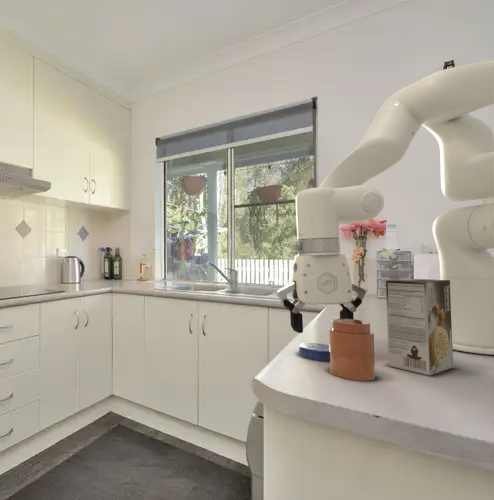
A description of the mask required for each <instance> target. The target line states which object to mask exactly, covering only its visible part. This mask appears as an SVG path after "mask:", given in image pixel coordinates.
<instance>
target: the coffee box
mask: <svg viewBox="0 0 494 500" xmlns="http://www.w3.org/2000/svg"><path fill="white" fill-rule="evenodd" d="M385 290H386V291H385V292H386V293H385V295H386V296H385V297H386V322H387V323H386V325H387V354H388V355H387V356H388V366H389V367H391V368H395V369H401V370H404V371H409V372H413V373H418V374H421V375H425V376H433V375H435V374H439V373H442V372H444V371H447V370H451V369H453V368H454V357H453V355H454V353H453V352H454V350H453V349H452V323H451V299H450V280H440V279H426V278H425V279H424V278H405V279H403V278H402V279H401V278H400V279H387V280H385Z"/></svg>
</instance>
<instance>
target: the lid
mask: <svg viewBox="0 0 494 500" xmlns="http://www.w3.org/2000/svg"><path fill="white" fill-rule="evenodd" d="M298 353H299V355H300V356H301V357H303V358H304V359H305V358H306V359H309V360H313V361H319V362H330V349H329V344H324V343H319V342H303V343H300V344H299V347H298Z"/></svg>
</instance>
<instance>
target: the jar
mask: <svg viewBox="0 0 494 500" xmlns="http://www.w3.org/2000/svg"><path fill="white" fill-rule="evenodd" d="M330 322H331V325H332V327H329V328H328V338H329V340H328V341H329V342H328V343H329V344H328V345H329V349H330V361H329V372H330V373H331V374H332V375H334V376H337V377H339V378H342V379H347V380H352V381H359V382H360V381H361V382H370V381H373V380H375V379H376V361H375V359H376V357H375V332H374V331H371V323H370V322H369V321H366V320H363V319H362V320H361V319H355V318H354V319H340V318H333V319H331V321H330Z"/></svg>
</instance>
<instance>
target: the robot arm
mask: <svg viewBox="0 0 494 500" xmlns="http://www.w3.org/2000/svg"><path fill="white" fill-rule="evenodd" d="M492 105H494V59H490V60H489V59H488V60H483V61H479V62H473V63H467V64H463V65H458V66H453V67H450V68H446V69H445V68H444V69H442V70H438V71H435V72H433V73H431V74H429V75H426V76H424V77H422V78H420V79H418V80H417V81H415V82H412V83H410V84H409V85H407V86H405V87H403V88H401V89H399V90H397V91H395V92H394V93H392V94H391V95H390V96H388V97H387V98H386V99H385V101H384V102H383V103H382V105H381V106H380V108H379V109H378V111H377V113H376V114H375V117H374V118H373V120H372V121H371V123H370V124H369V126H368V129H367V130H366V131H365V133H364V135H363V137H362V139H361V140H360V142H359V143H358V144H357V146H356V147H355V148H353V149H352V151H350V152H349V153H348V154H347V155H345V157H344V158H343V159H342V160H341V161H340V162H338V164H336V166H335V167H333V168H332V169H331V171H329V173H328V174H327V175H326V176H325V177H324V178H323V180H322V181H321V182H320V185H319V187H318V186H317V187H311V188H305V189H301V190H300V191H299V192H298V193H296V196H295V214H296V216H295V217H296V218H295V219H296V235H297V240H296V242H295V243H291V244H290V249H291V250H292V251H296V254H297V255H295V256H294V259H293V260H294V261H293V266H292V274H291V275H292V276H291V283H289V284H287V285H286V286H284V287H281V288H280V289H278V290H277V291H276V292H275V294H276V297H277V298H278V300H279V301H280V304H281V305H282V306H284V307H285V308H286V309H287V311H288V312H289V314H290V315H289V316H290V318H289V319H290V327H291V329H292V331H294V332H296V333H298V334H302V333H303V332H304V324H303V321H304V320H303V314H302V313H301V310H302V309H303V308H304V306H306V305H338V306H339V307H340V308H341V309H340V310H339V319H354V320H355V317H354V315H355V314H354V313H356V312H357V308H358V307H360V305H361V304H362V303H363V300H364V298H365V296H366V294H367V290H366V289H365V288H362V287H360V286H358V285H356V284H354V283H352V276H351V271H350V267H349V263H348V260H347V257H346V253H345V254H343V253H342V254H341V240H340V239H341V238H340V225H349V224H356V223H364V222H367V221H370V220H372V219H374V218H376V217H377V216H379V214H380V213H381V212H382V210H383V209H384V206H385V199H384V196H383V194H382V193H381V191H379V190H378V189H377V188H376V187H373V186H372V185H371V186H370V185H367V184H366V185H364V183H366V182H367V181H369V180H371V179H372V178H374V177H377V176H378V175H380V174H382V173H384V172H385V171H387V170H389V169H390V168H391V167H393V166H395V165H396V164H397V163H398V162H400V161H401V160H402V159H403V157H404V156H405V155H406V153H407V151H408V149H409V147H410V145H411V143H412V141H413V140H414V138H415V136H416V135H417V133H418V131H419V130H420V128H421V126H422V127H423V128H425V129H426V130H427V131H429V132H430V134H432V135H433V137H434V138H435V139H436V141H437V143H438V146H439V154H440V156H439V159H440V160H439V161H440V188H441V192H442V195H443V196H444V198H446V199H447V200H449V201H452V202H469V201H476V200H477V201H478V200H484V199H485V200H486V199H490V198H494V133H493V132H494V131H493V130H492V128H491V127H490V126H489V125H488V124H487V123H485V122H484V121H483V120H481V119H479V118H477V117H475V116H474V115H471V114H470V113H472V112H475V111H478V110H481V109H483V108H487V107H489V106H492ZM432 235H433V239H434V242H435V246H436V249H437V253H438V254H437V255H438V263H439V280H450V299H451V323H452V350H453V351H458V352H464V353H471V354H480V355H488V356H489V355H490V356H494V256H493V255H492V254H491V253H490V251H488V250H490V249H494V202H493V203H487V204H486V203H484V204H476V205H469V206H462V207H456V208H451V209H449V210H446V211H444V212H442V213H440V214H439V215H437V217H436V218H435V220H434V221H433V223H432ZM288 294H291V295H292V299H293V300H292V301H290V300H289V299H288Z"/></svg>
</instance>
